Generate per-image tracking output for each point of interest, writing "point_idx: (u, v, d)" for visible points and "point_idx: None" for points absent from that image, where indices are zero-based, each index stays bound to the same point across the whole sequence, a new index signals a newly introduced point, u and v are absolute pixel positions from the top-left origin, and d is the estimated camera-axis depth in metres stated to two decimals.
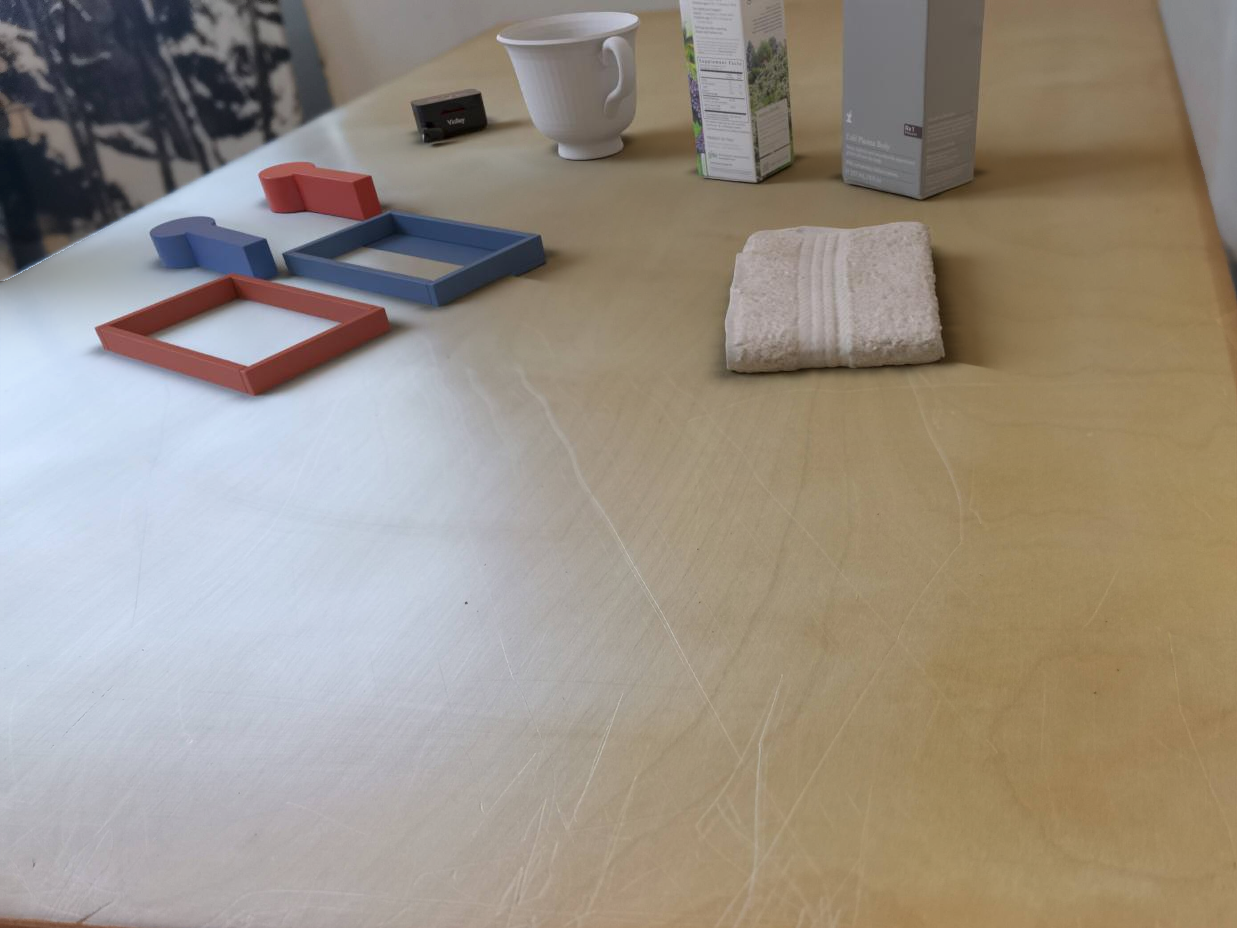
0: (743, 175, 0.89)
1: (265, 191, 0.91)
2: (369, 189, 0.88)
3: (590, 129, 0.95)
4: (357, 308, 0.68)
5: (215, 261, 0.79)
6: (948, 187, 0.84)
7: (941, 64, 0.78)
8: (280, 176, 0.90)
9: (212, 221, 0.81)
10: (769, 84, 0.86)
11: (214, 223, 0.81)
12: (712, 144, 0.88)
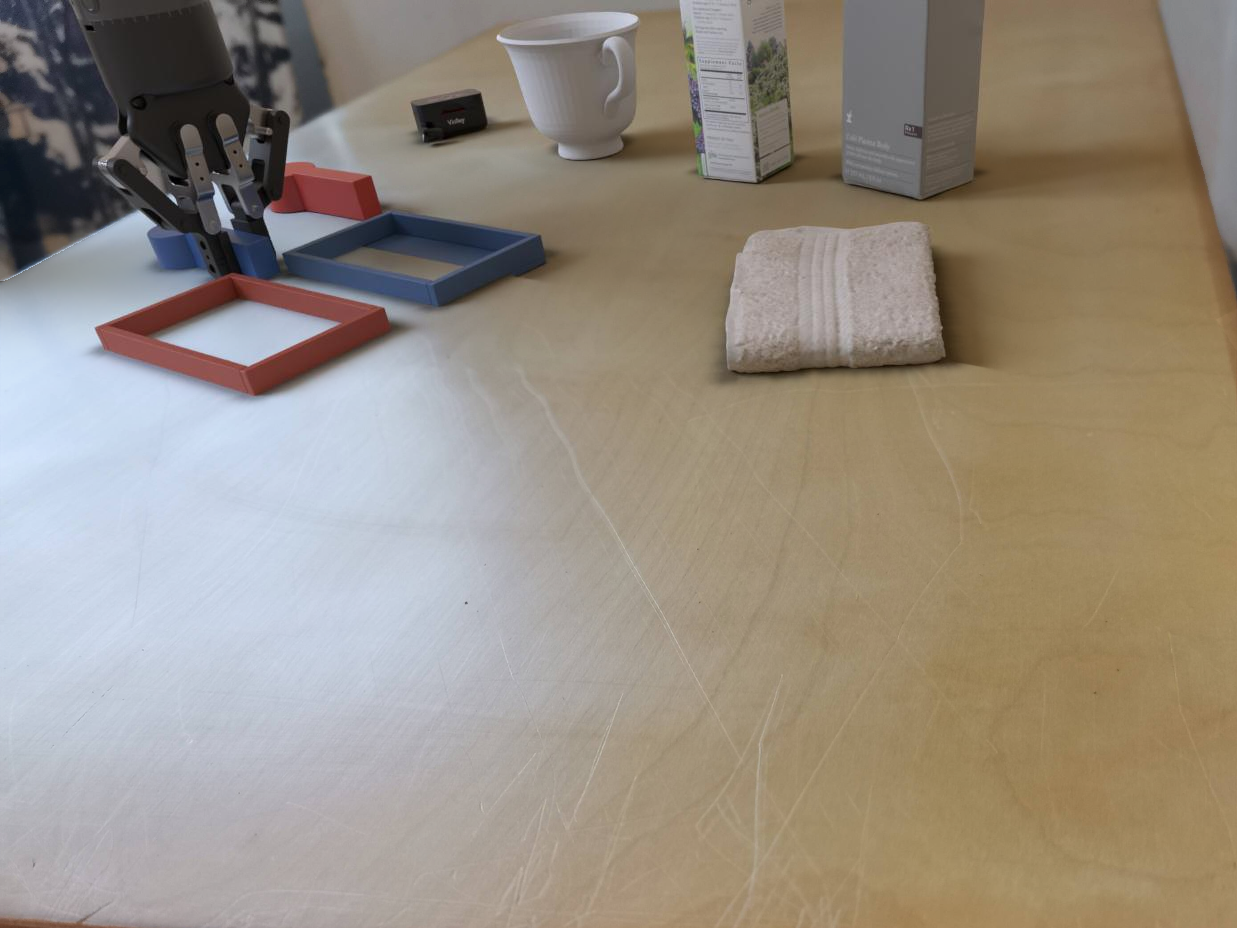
0: (743, 175, 0.89)
1: None
2: (369, 189, 0.88)
3: (590, 129, 0.95)
4: (357, 308, 0.68)
5: None
6: (948, 187, 0.84)
7: (941, 64, 0.78)
8: None
9: None
10: (769, 84, 0.86)
11: None
12: (712, 144, 0.88)
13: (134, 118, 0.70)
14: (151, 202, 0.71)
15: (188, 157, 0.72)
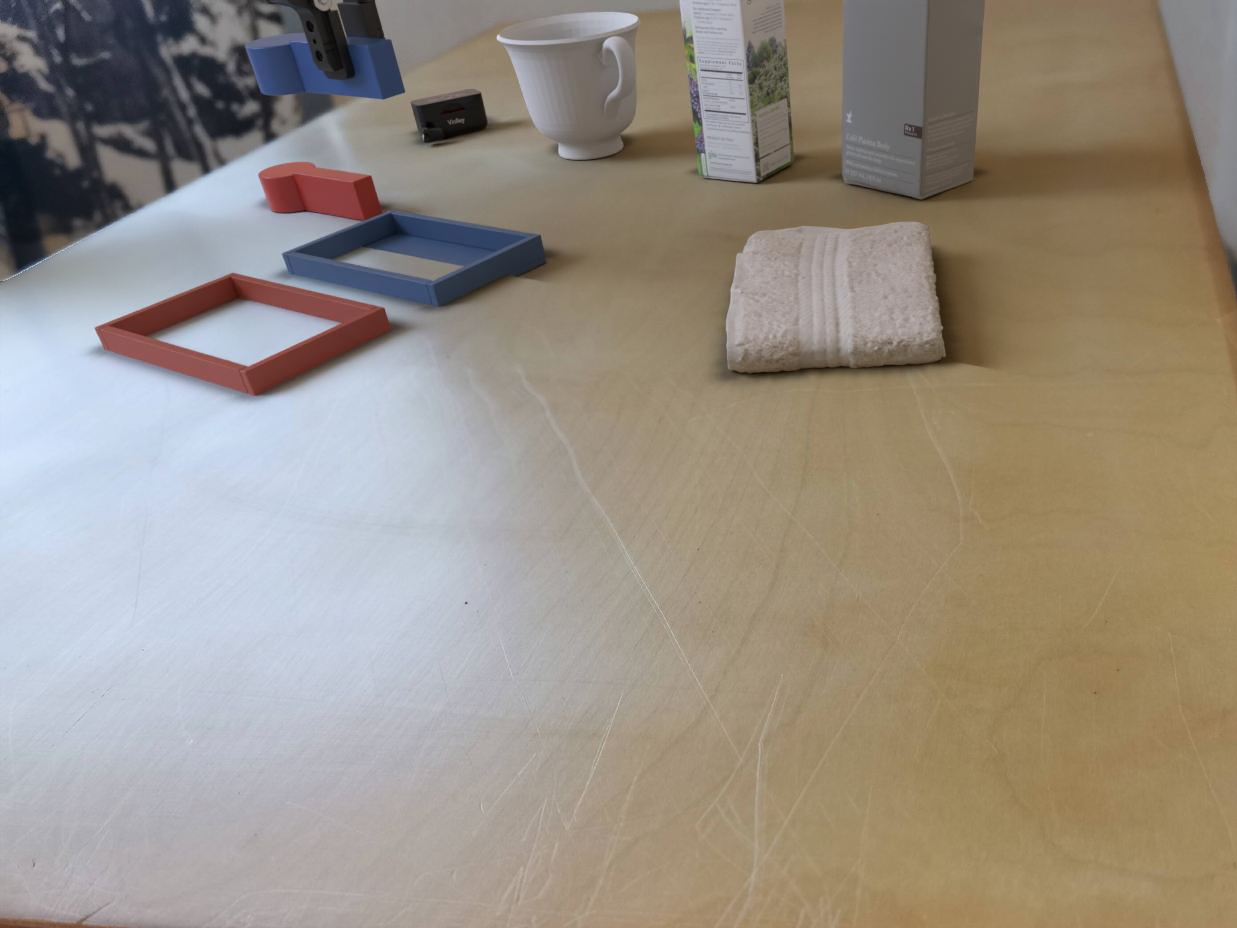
0: (743, 175, 0.89)
1: (265, 191, 0.91)
2: (369, 189, 0.88)
3: (590, 129, 0.95)
4: (357, 308, 0.68)
5: None
6: (948, 187, 0.84)
7: (941, 64, 0.78)
8: (280, 176, 0.90)
9: None
10: (769, 84, 0.86)
11: None
12: (712, 144, 0.88)
13: None
14: None
15: None
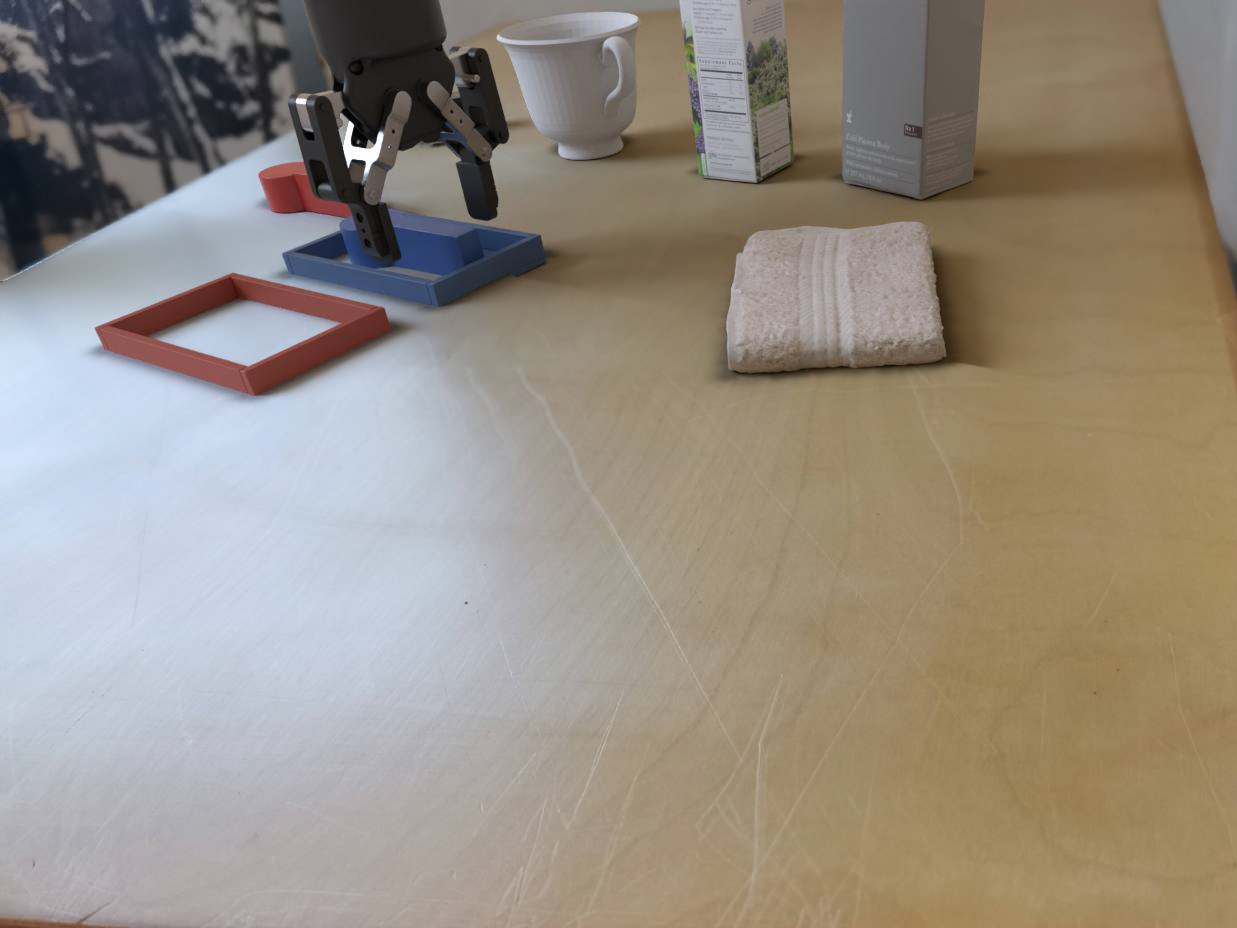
0: (743, 175, 0.89)
1: (265, 191, 0.91)
2: None
3: (590, 129, 0.95)
4: (357, 308, 0.68)
5: (415, 254, 0.76)
6: (948, 187, 0.84)
7: (941, 64, 0.78)
8: (280, 176, 0.90)
9: (402, 213, 0.78)
10: (769, 84, 0.86)
11: (404, 215, 0.78)
12: (712, 144, 0.88)
13: (351, 84, 0.66)
14: (329, 152, 0.66)
15: (400, 126, 0.69)
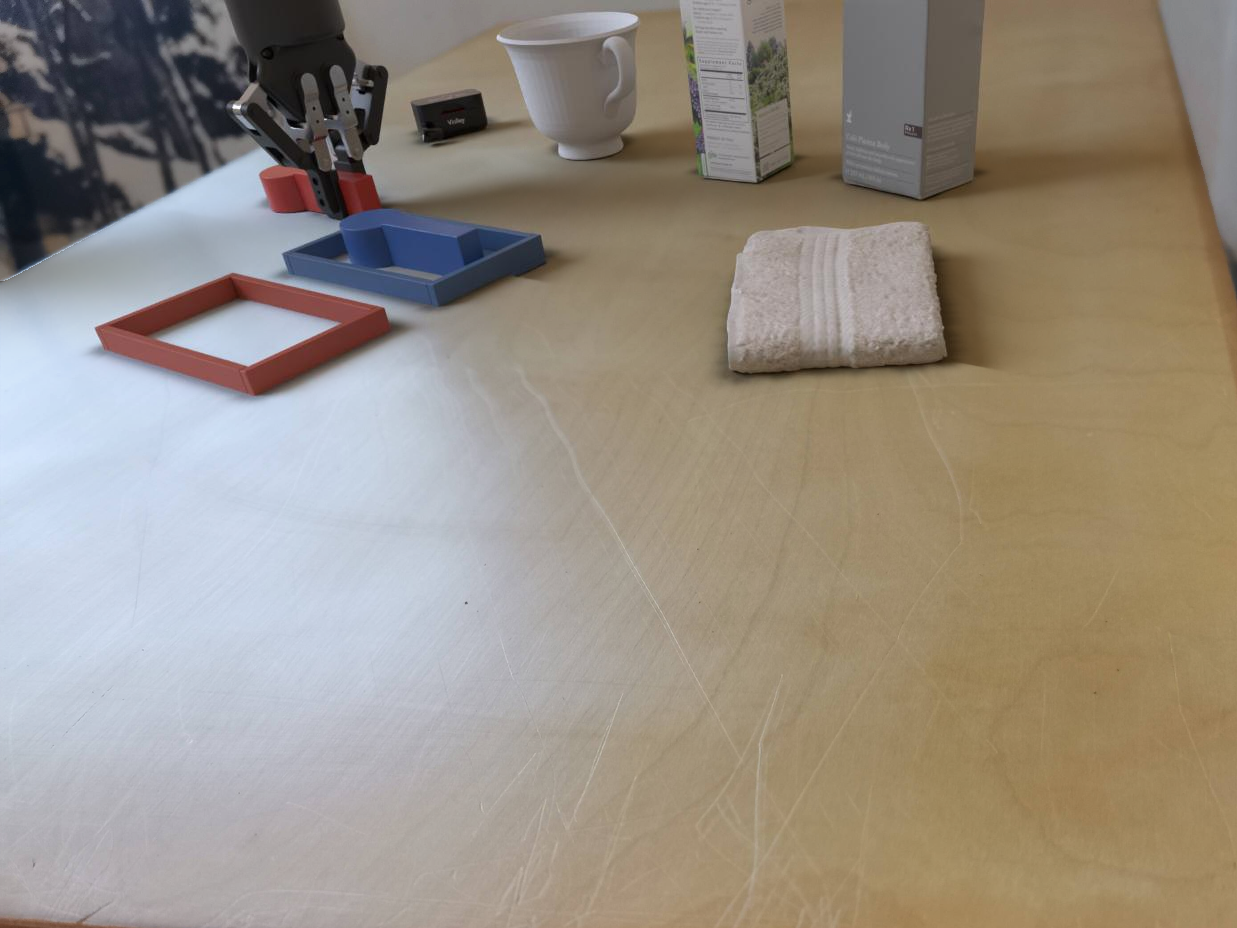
0: (743, 175, 0.89)
1: (266, 191, 0.91)
2: (370, 189, 0.88)
3: (590, 129, 0.95)
4: (357, 308, 0.68)
5: (415, 254, 0.76)
6: (948, 187, 0.84)
7: (941, 64, 0.78)
8: (281, 176, 0.90)
9: (402, 213, 0.78)
10: (769, 84, 0.86)
11: (404, 215, 0.78)
12: (712, 144, 0.88)
13: (263, 67, 0.80)
14: (276, 141, 0.82)
15: (306, 102, 0.83)
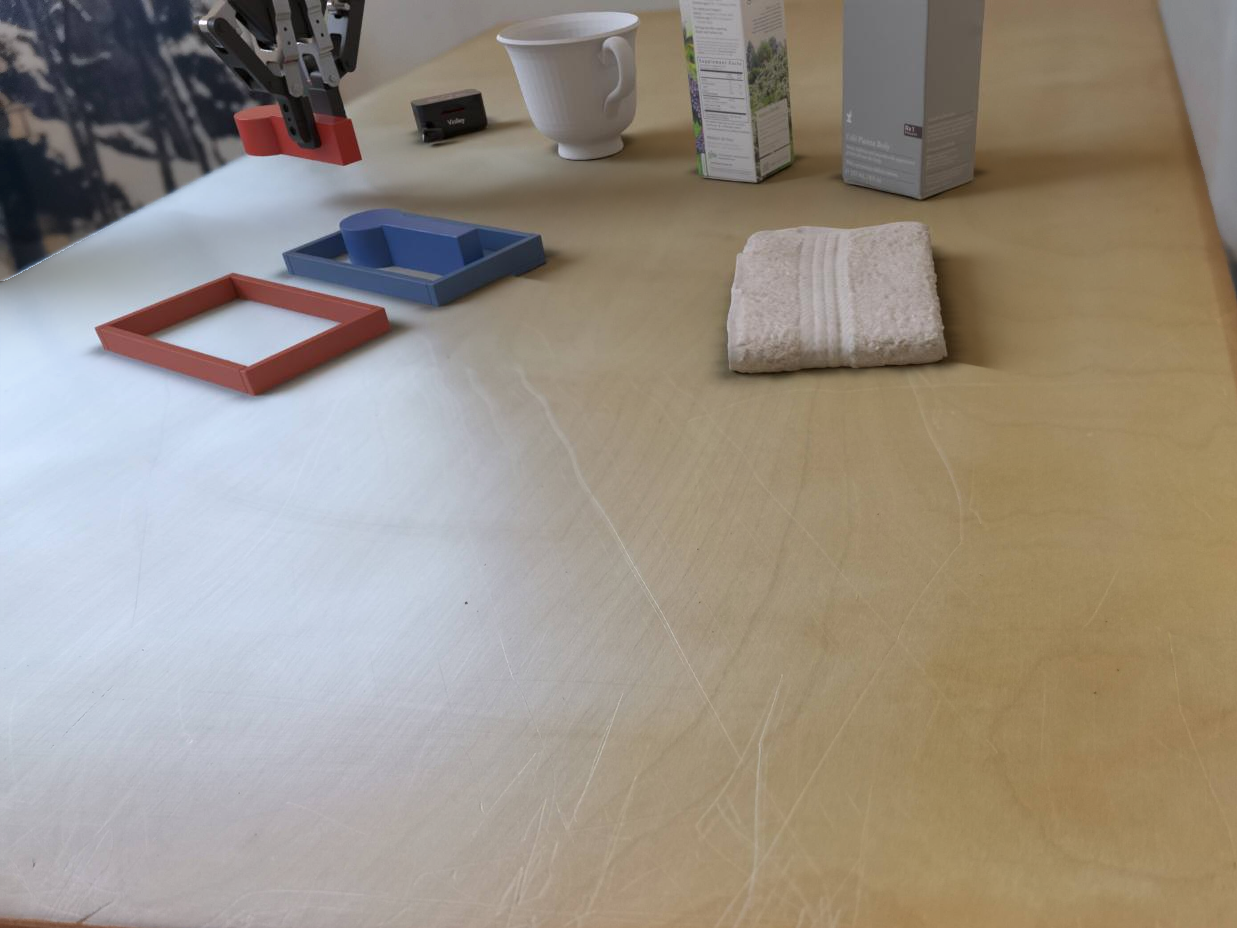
0: (743, 175, 0.89)
1: (241, 133, 0.88)
2: (349, 133, 0.85)
3: (590, 129, 0.95)
4: (357, 308, 0.68)
5: (415, 254, 0.76)
6: (948, 187, 0.84)
7: (941, 64, 0.78)
8: (256, 118, 0.87)
9: (402, 213, 0.78)
10: (769, 84, 0.86)
11: (404, 215, 0.78)
12: (712, 144, 0.88)
13: None
14: (244, 61, 0.79)
15: (278, 21, 0.80)
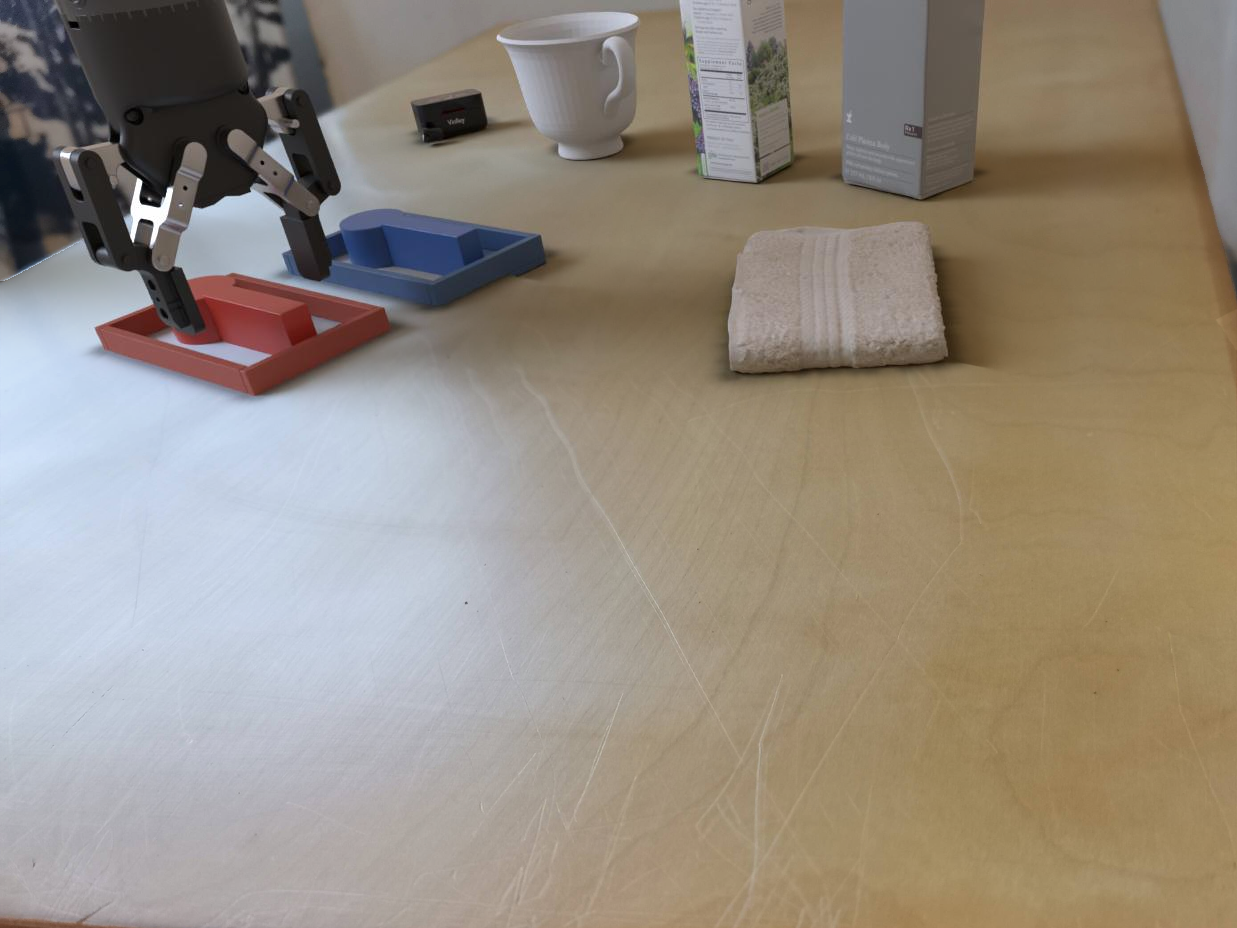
0: (743, 175, 0.89)
1: None
2: (304, 321, 0.65)
3: (590, 129, 0.95)
4: (357, 308, 0.68)
5: (415, 254, 0.76)
6: (948, 187, 0.84)
7: (941, 64, 0.78)
8: None
9: (402, 213, 0.78)
10: (769, 84, 0.86)
11: (404, 215, 0.78)
12: (712, 144, 0.88)
13: (128, 135, 0.57)
14: (101, 214, 0.57)
15: (194, 181, 0.60)
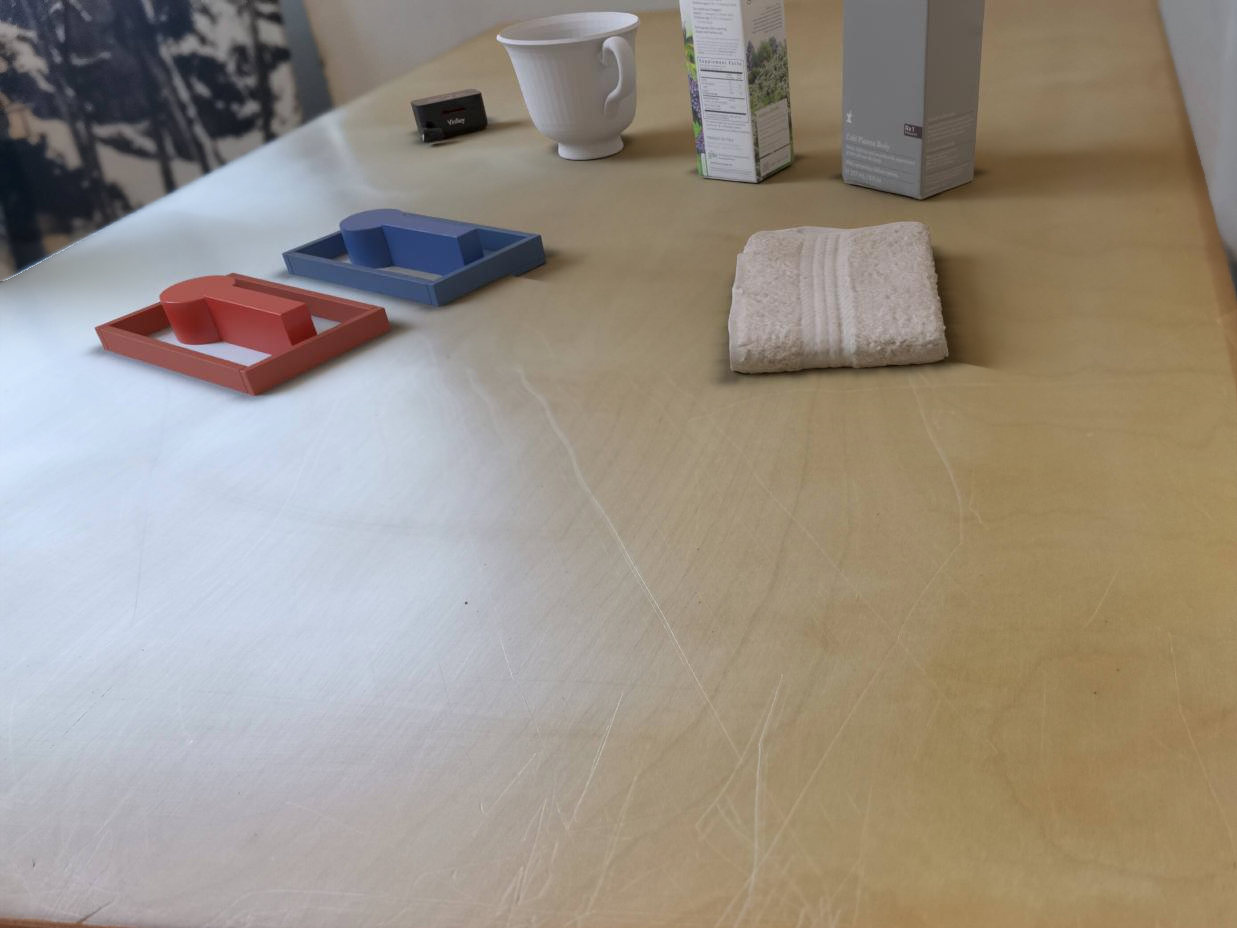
0: (743, 175, 0.89)
1: (169, 318, 0.69)
2: (304, 321, 0.65)
3: (590, 129, 0.95)
4: (357, 308, 0.68)
5: (415, 254, 0.76)
6: (948, 187, 0.84)
7: (941, 64, 0.78)
8: (187, 300, 0.67)
9: (402, 213, 0.78)
10: (769, 84, 0.86)
11: (404, 215, 0.78)
12: (712, 144, 0.88)
13: None
14: None
15: None
